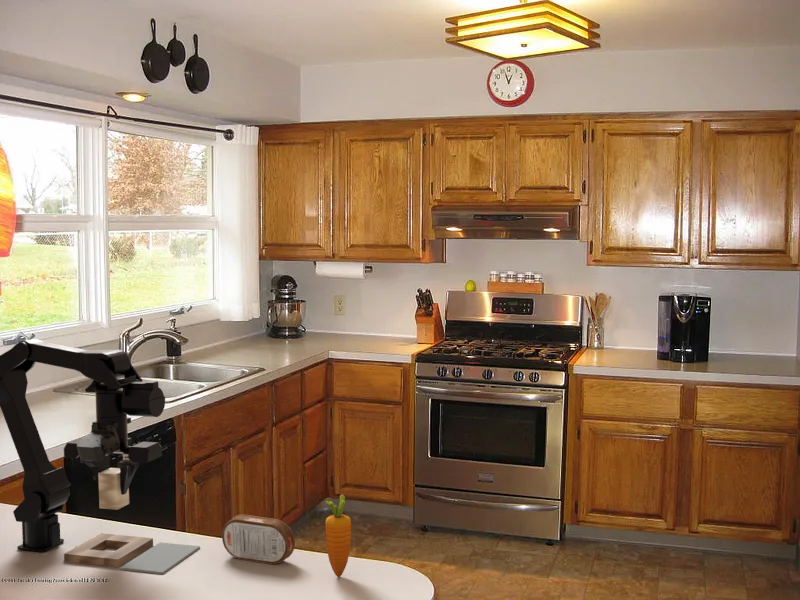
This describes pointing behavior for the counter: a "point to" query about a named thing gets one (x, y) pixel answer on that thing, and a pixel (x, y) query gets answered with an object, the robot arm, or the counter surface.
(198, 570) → the counter surface
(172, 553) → the mat
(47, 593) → the counter surface
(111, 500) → the block
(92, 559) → the pocket board
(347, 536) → the carrot
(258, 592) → the counter surface
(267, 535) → the tin
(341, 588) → the counter surface
